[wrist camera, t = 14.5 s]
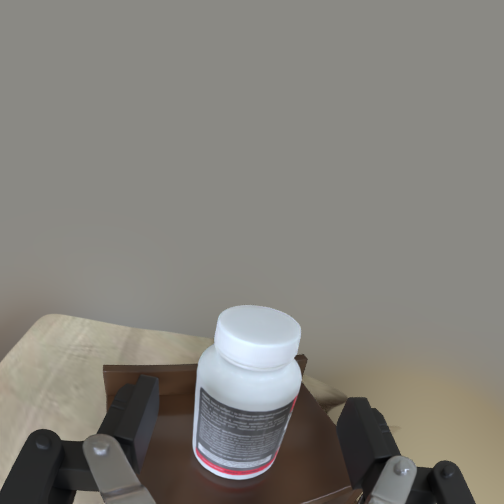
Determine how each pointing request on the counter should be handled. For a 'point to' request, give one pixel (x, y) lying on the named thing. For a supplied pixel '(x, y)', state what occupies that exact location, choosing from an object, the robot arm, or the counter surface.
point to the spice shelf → (224, 489)
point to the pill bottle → (246, 391)
